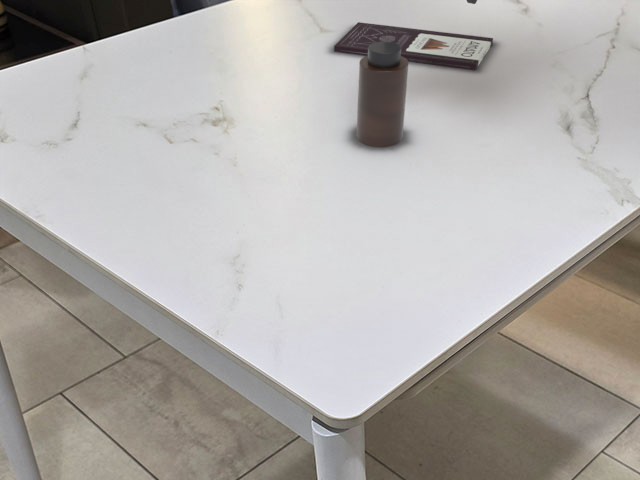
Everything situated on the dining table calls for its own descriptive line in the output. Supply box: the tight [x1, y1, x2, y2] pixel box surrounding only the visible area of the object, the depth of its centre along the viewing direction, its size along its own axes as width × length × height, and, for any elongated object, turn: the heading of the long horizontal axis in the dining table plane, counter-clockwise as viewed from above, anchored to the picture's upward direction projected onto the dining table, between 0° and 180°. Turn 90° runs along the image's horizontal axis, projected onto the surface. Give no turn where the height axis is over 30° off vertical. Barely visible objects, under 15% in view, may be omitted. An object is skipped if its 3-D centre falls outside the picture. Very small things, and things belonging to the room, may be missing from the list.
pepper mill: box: [355, 42, 409, 148], centre depth 87 cm, size 5×5×10 cm
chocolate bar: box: [333, 21, 494, 71], centre depth 108 cm, size 9×1×18 cm
